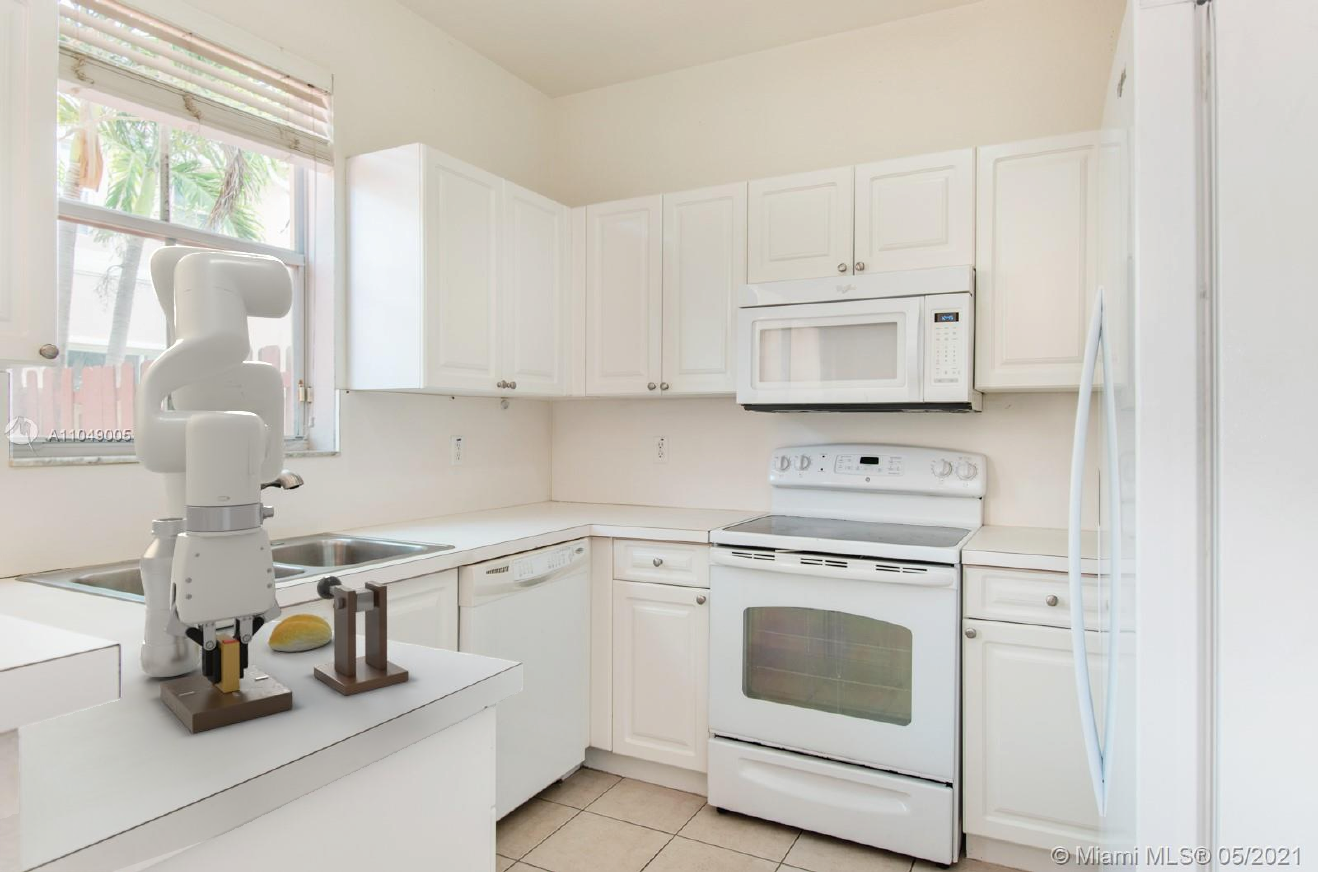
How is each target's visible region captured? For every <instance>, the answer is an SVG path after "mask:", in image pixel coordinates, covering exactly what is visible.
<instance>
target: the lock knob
mask: <svg viewBox="0 0 1318 872" xmlns="http://www.w3.org/2000/svg"><path fill="white" fill-rule="evenodd" d="M216 642H217V643H218V648H220V649H221V682H220V683H219V684H215V686H217V687H218V688H219V689H220V690H221V691H222V692H224V693H227V692H232V691H237V690H240V675H239V642H238V641H237V639H235V638H233V636H231V635H230V634H228V633H226V632H225V633H220V634H216Z"/></svg>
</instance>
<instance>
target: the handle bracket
mask: <svg viewBox="0 0 1318 872" xmlns="http://www.w3.org/2000/svg"><path fill="white" fill-rule="evenodd" d="M364 588H366V589H369V590H372V591H373V592H374V609H373V610H369V611H364V656H363V655H362V656H358V657H357V612H356V590H353V588H351V587H348V586H345V585H343V584H342V585H338V586H334V599H333V632H334V633H333V649H334V650H333V658H334V659H333V662H330V663H325V664H321V665H316V666H313V676H314V677H315V678H317V679H318V680H320V681H322V682H323V683H325V684H326V685H328V686H329V687H331V688H332V689H334V690H336V691H337V692H339V693H341V694H342V695H344V696H351V695H354V694H359V693H362V692H367V691H370V690H376V689H380V688H384V687H386V686H387V687H388V686H391V685H395V684H399V683H403V682H407V681H409V680H410V679H409V670H407V669H406V668H404V667H401V666H399V665H397V664H395V663H393V662H392V661H389V660H388V585H386V584H383V583H380V582H377V581H374V580H365V582H364Z"/></svg>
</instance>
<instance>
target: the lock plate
mask: <svg viewBox="0 0 1318 872" xmlns="http://www.w3.org/2000/svg"><path fill="white" fill-rule="evenodd" d="M160 699H161V701H162V702H163V703H164V704H165V705H166V706H167V707H168V708H169V709H170V710H171V711H172V713H173V714H174V715H175V716H176V717H177V718H178V719H179V720H180V721H181V722H182V723H183V724H184V726H185V727H187V729H189V731H190V732H191V734H195V733H200V732H203V731H207V730H212V729H216V728H220V727H224V726H228V725H233V724H236V723H240V722H245V721H248V720H252V719H257V718H261V717H265V716H269V715H274V714H278V713H281V712H284V711H285V712H286V711H290V710H292V709H293V691H292V690H291V689H289V688H288V687H286V686H285V685H284V684H282V683H280V682H279V681H278V680H276V679H275V678H274V677H273V676H271V675H269V674H268V673H267V672H265V671H263V670H262V669H261V668H259V667H258V666H257V665H255V664H254V663H250V664H249V663H248V668H246V669H244V678H243V679H240V690H237V691H232V692H227V693H224V692H222V691H221V690H220V689H219V688H218V687H217V686H215V685H214V684H213V683H212V682H210V681H209V680H208V679H207V677H204V676H203V674H202V673H200V674H194V675H190V676H185V677H180V678H175V679H170V680H165V681H161V682H160Z"/></svg>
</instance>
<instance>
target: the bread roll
mask: <svg viewBox="0 0 1318 872" xmlns="http://www.w3.org/2000/svg"><path fill="white" fill-rule="evenodd" d="M332 637H333V631H332V627H331V626H330V624H329V623H328V621H326V620H325V619H324V618H322V617H321V616H318V615H314V614H310V613H309V614H308V613H301V614H300V613H299V614H293V615H290V616H288V617H286V618H284V619H283V620H281V621H280V622H279V623H278V624H276V626H274V628H273V629H272V632H271V634H270V637H269V640H268V645H269V647H270V648H271V649H272V650H274V651H278V652H286V653H287V652H288V653H293V652H295V653H296V652H304V651H309V650H312V649H317V648H319V647H322V646H324V645H325V646H326V644H328V643H329V642H330V641H331V639H332Z"/></svg>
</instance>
